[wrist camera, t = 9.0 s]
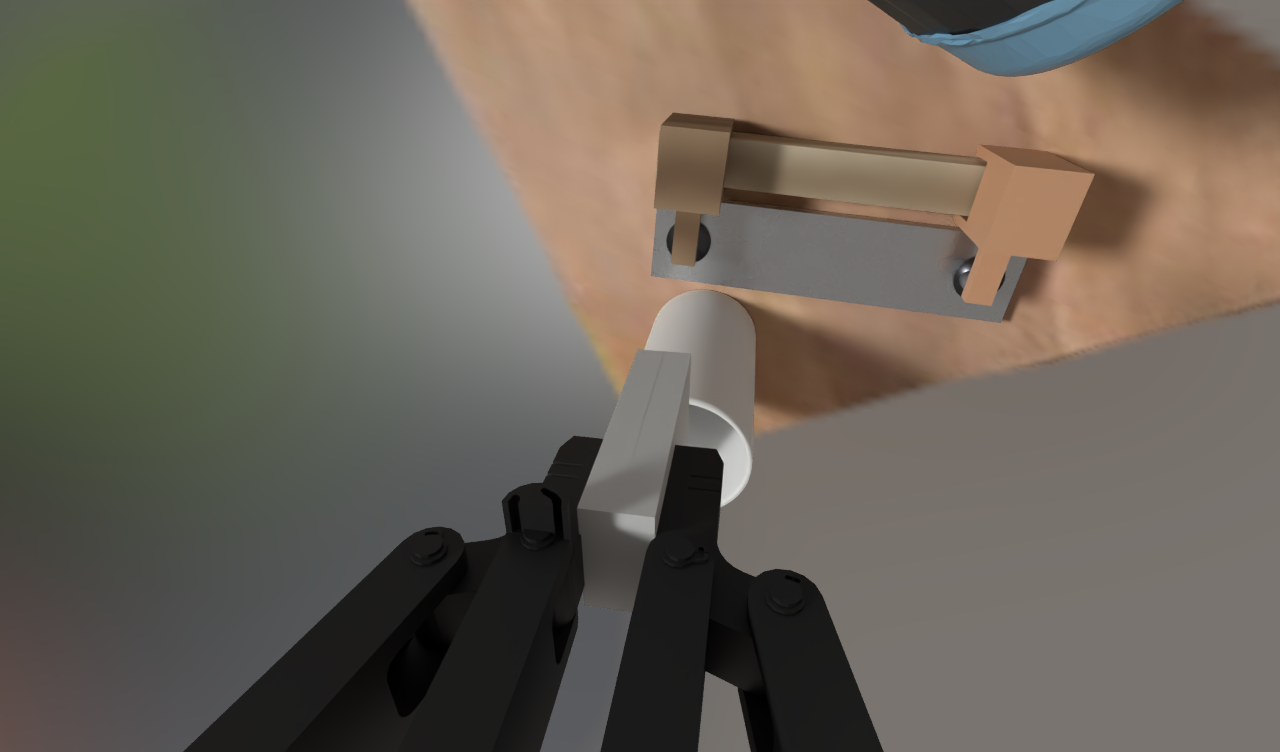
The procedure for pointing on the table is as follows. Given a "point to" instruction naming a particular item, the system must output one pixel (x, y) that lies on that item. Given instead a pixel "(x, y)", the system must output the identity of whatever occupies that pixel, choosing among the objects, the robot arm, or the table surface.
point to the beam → (853, 173)
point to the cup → (715, 376)
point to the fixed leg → (691, 176)
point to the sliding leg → (1019, 213)
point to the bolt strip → (834, 258)
